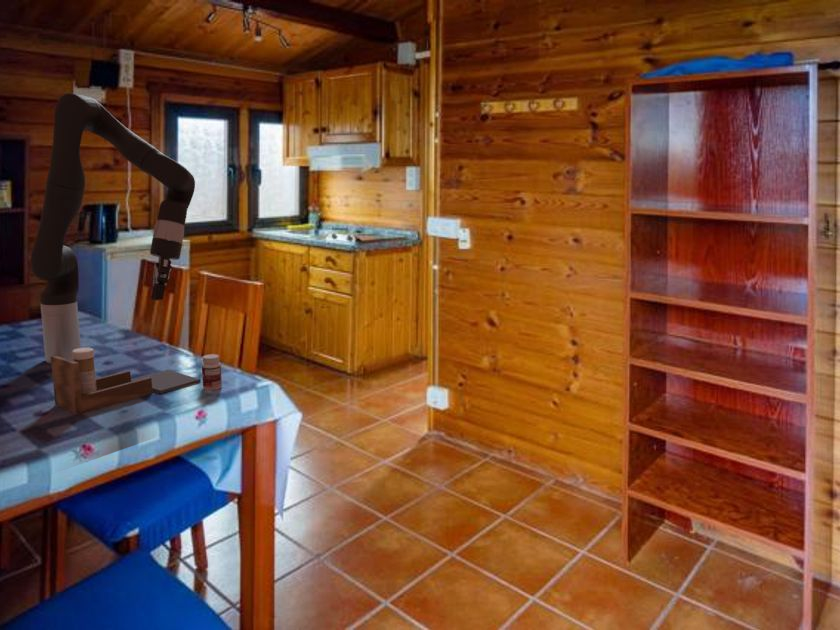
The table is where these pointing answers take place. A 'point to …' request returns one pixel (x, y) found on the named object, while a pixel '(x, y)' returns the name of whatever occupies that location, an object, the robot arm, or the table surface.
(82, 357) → the sprinkles bottle
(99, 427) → the table surface
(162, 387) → the rubber mat
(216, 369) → the pill bottle
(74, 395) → the shelf lane
